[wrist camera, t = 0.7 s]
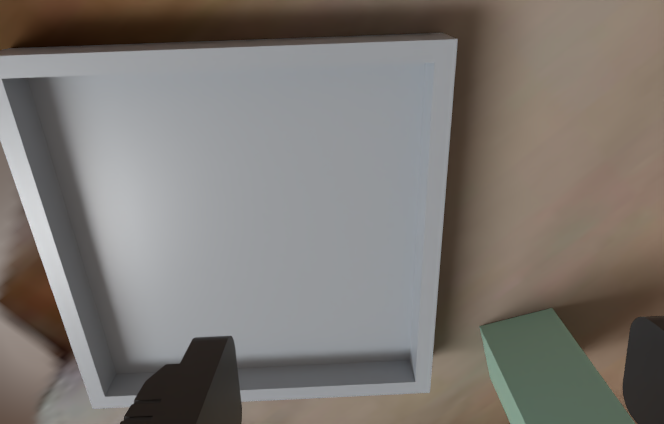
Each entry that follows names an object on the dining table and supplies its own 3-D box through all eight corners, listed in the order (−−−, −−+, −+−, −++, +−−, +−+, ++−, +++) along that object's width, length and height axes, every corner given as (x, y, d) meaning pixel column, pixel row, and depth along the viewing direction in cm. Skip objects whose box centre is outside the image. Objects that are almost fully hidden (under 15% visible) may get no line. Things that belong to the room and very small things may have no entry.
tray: (9, 48, 24) (-29, 56, 22) (442, 32, 25) (457, 39, 22) (110, 374, 34) (92, 408, 31) (420, 360, 34) (429, 392, 32)
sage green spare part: (479, 326, 33) (540, 455, 24) (552, 308, 33) (641, 432, 24) (490, 377, 35) (550, 513, 26) (558, 361, 35) (643, 494, 26)
